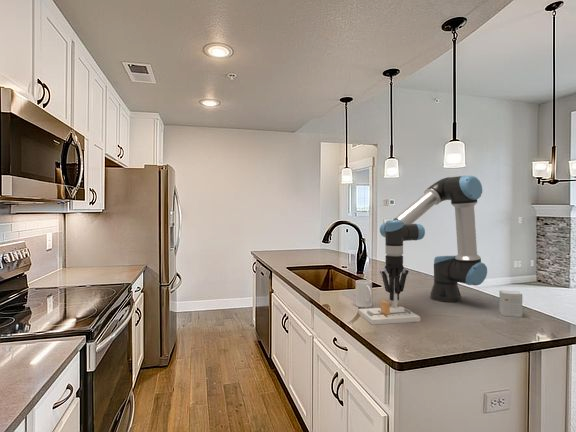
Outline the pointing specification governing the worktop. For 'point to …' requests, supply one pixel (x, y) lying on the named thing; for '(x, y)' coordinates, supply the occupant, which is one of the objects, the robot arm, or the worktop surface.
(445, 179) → the robot arm
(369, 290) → the mug
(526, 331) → the worktop surface
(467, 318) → the worktop surface
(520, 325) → the worktop surface
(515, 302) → the small box
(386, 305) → the fader
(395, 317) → the console
